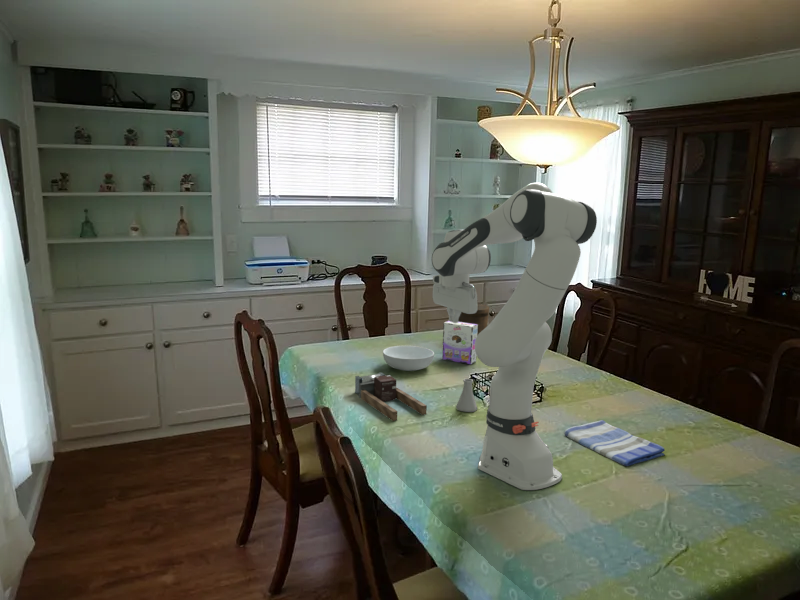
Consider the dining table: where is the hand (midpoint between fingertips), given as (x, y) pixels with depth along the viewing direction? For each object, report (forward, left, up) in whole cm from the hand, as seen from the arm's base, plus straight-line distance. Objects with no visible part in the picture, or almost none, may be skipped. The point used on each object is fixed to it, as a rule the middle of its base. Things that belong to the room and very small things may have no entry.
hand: (453, 322), depth 189 cm
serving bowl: (+43, -10, -29) cm, 53 cm away
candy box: (+42, -35, -29) cm, 62 cm away
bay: (+9, +17, -29) cm, 35 cm away
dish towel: (-46, -25, -30) cm, 60 cm away
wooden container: (+62, -57, -29) cm, 89 cm away
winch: (+25, +17, -29) cm, 42 cm away
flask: (-4, -4, -29) cm, 30 cm away
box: (+17, +16, -29) cm, 37 cm away
